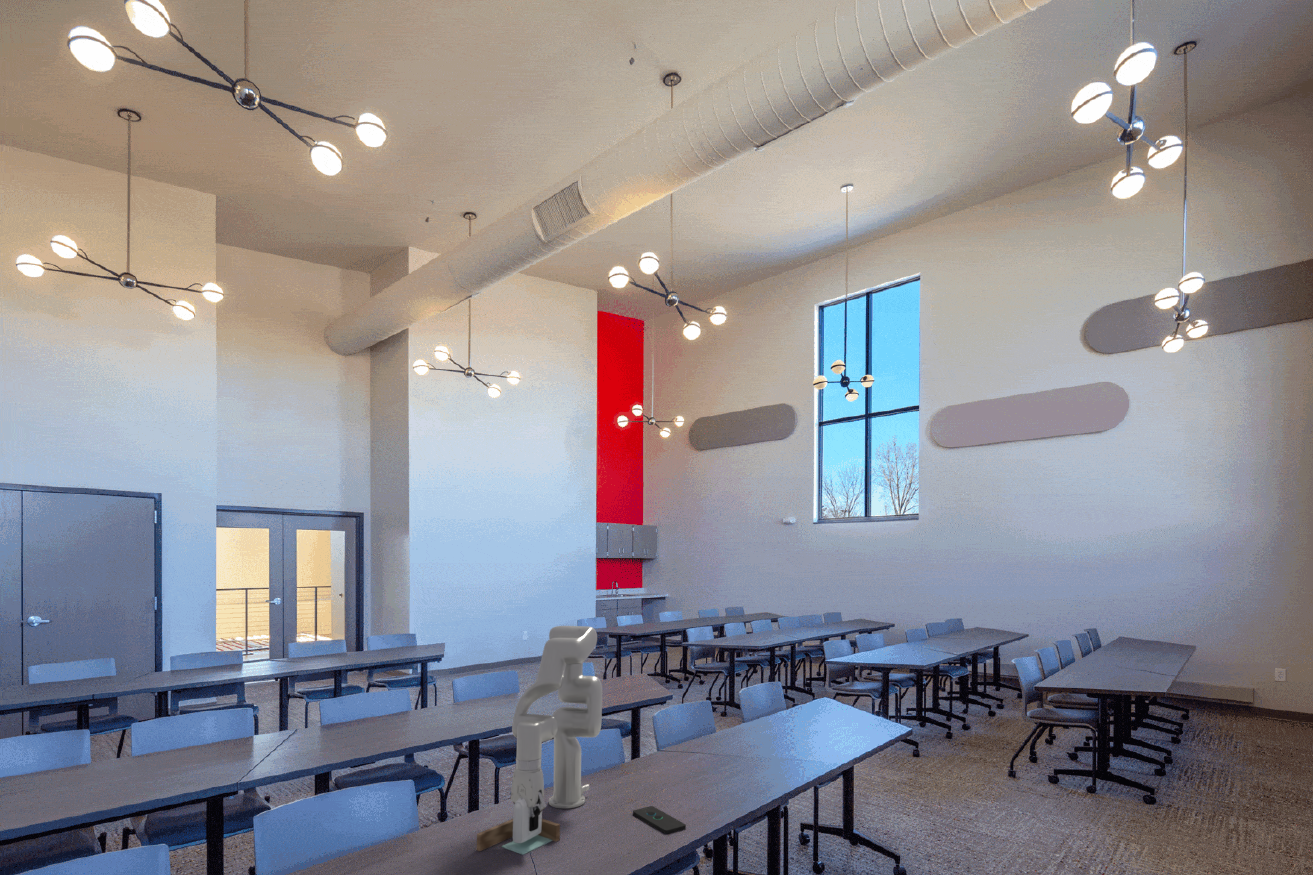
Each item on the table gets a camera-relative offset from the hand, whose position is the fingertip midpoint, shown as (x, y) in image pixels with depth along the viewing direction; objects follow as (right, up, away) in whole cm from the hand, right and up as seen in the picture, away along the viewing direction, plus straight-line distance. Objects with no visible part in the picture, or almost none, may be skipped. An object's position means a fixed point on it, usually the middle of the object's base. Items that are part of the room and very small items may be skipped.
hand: (527, 826), depth 215 cm
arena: (-2, -5, -1) cm, 5 cm away
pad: (0, -5, -1) cm, 5 cm away
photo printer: (0, -3, -1) cm, 3 cm away
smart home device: (+40, -8, +16) cm, 43 cm away
